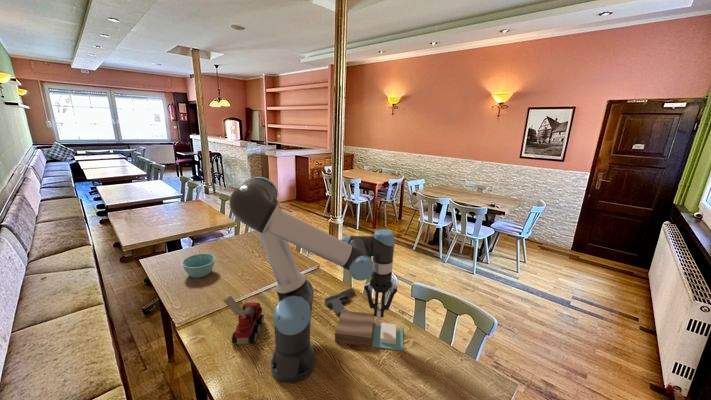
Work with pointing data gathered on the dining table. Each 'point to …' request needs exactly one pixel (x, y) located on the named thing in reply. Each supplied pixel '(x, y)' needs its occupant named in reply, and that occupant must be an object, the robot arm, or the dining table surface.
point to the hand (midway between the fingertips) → (378, 323)
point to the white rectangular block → (388, 333)
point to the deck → (355, 328)
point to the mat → (385, 345)
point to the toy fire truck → (246, 321)
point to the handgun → (339, 300)
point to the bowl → (198, 264)
